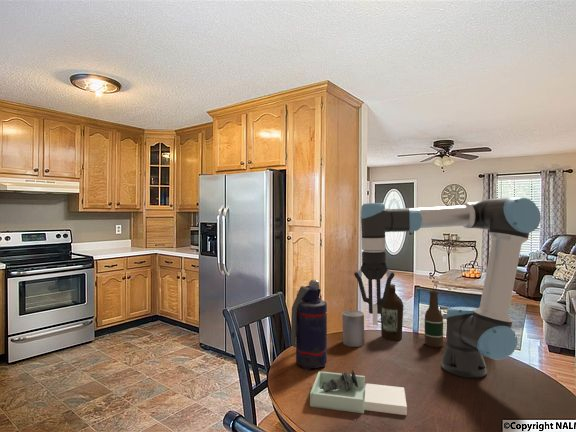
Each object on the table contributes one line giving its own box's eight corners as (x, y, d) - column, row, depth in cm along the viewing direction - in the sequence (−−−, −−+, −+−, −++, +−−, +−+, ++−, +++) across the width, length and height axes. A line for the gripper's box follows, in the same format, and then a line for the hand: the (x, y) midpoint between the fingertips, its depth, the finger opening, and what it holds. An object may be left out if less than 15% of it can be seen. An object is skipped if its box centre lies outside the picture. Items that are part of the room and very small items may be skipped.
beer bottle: (444, 343, 163) (444, 290, 163) (441, 349, 157) (441, 293, 157) (426, 340, 168) (426, 288, 167) (422, 345, 161) (422, 291, 161)
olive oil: (383, 332, 179) (383, 281, 179) (405, 336, 174) (405, 283, 173) (377, 339, 169) (377, 285, 169) (400, 342, 164) (400, 287, 164)
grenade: (318, 356, 148) (318, 283, 148) (332, 368, 137) (332, 288, 137) (286, 361, 143) (286, 285, 143) (298, 374, 132) (298, 291, 132)
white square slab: (404, 395, 117) (404, 387, 117) (406, 415, 105) (406, 406, 105) (365, 390, 119) (365, 383, 119) (364, 409, 108) (364, 401, 108)
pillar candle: (352, 338, 171) (351, 306, 171) (369, 343, 163) (368, 310, 163) (338, 343, 165) (337, 310, 164) (354, 349, 157) (354, 314, 157)
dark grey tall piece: (354, 384, 122) (320, 393, 121) (350, 366, 122) (316, 375, 121) (359, 391, 116) (323, 401, 115) (355, 373, 116) (319, 382, 115)
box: (366, 388, 121) (366, 376, 121) (364, 413, 106) (364, 399, 106) (318, 382, 125) (318, 371, 125) (310, 406, 110) (310, 393, 110)
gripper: (393, 249, 120) (395, 321, 120) (353, 249, 123) (355, 319, 123) (395, 252, 112) (396, 328, 113) (352, 252, 115) (354, 326, 115)
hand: (375, 323), depth 118 cm, fingers closed
